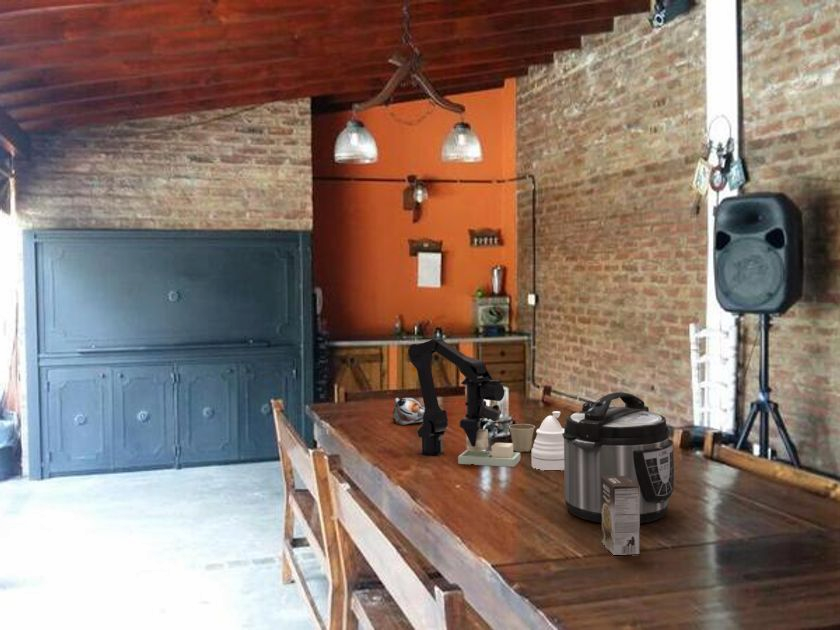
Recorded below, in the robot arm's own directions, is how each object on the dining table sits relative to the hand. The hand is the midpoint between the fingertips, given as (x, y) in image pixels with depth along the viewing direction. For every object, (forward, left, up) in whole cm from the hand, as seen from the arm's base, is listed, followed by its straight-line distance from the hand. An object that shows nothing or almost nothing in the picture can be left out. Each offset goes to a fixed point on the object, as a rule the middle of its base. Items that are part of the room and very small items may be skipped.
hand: (476, 444), depth 281 cm
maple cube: (+1, 0, -1) cm, 1 cm away
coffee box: (+55, -77, -6) cm, 95 cm away
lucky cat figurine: (-45, +61, -6) cm, 76 cm away
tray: (+5, 0, -6) cm, 7 cm away
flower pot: (+12, +20, -6) cm, 24 cm away
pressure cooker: (+52, -48, -6) cm, 71 cm away
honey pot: (+26, -1, -6) cm, 26 cm away
